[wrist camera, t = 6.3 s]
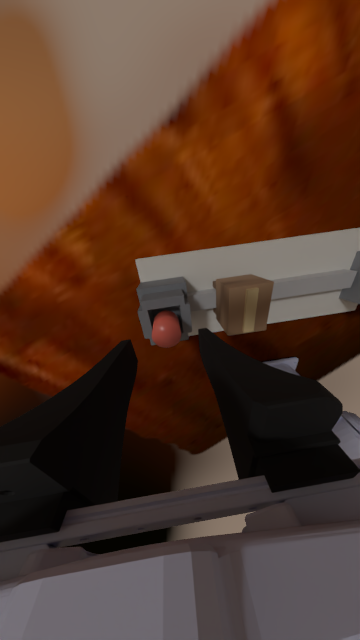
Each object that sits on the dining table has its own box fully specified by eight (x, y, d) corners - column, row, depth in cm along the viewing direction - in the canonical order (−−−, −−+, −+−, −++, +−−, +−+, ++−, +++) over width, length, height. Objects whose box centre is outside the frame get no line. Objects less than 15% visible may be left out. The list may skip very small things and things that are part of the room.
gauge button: (180, 330, 15) (182, 345, 13) (156, 334, 15) (154, 349, 12) (177, 308, 14) (179, 320, 11) (151, 312, 14) (148, 325, 11)
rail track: (347, 307, 23) (405, 327, 17) (155, 337, 22) (152, 367, 17) (384, 224, 18) (483, 214, 12) (136, 258, 17) (123, 265, 12)
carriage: (242, 310, 20) (267, 331, 15) (213, 314, 20) (228, 337, 15) (245, 272, 18) (276, 282, 13) (212, 276, 17) (230, 289, 13)
